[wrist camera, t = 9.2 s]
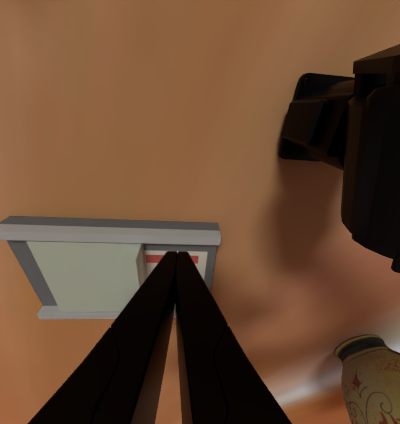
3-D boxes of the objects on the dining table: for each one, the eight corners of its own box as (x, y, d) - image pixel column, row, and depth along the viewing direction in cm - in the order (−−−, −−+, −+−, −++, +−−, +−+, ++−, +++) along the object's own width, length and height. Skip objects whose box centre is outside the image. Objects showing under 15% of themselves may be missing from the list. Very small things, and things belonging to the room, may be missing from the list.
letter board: (217, 223, 21) (221, 237, 19) (206, 300, 28) (208, 317, 26) (10, 216, 19) (-15, 231, 17) (52, 300, 26) (39, 319, 24)
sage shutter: (142, 239, 20) (135, 259, 17) (149, 305, 25) (144, 328, 23) (32, 236, 19) (7, 257, 16) (64, 305, 24) (49, 329, 22)
